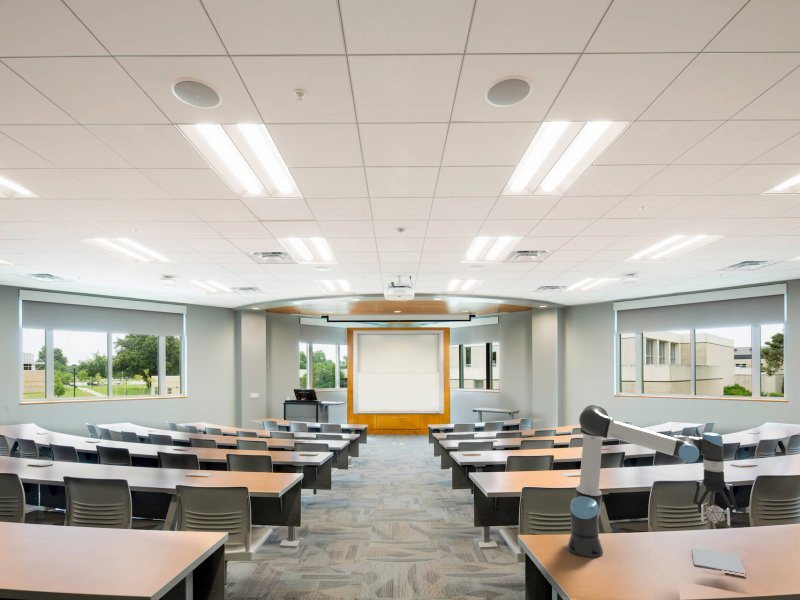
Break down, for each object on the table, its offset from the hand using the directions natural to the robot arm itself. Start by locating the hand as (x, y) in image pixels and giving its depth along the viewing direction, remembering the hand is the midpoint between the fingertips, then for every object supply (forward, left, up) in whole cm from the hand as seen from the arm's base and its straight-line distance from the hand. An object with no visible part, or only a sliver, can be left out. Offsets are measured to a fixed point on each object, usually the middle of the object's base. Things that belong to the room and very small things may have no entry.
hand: (715, 522), depth 216 cm
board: (0, 0, -17) cm, 17 cm away
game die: (0, 0, -2) cm, 2 cm away
